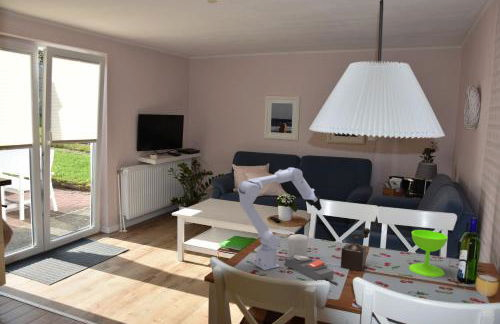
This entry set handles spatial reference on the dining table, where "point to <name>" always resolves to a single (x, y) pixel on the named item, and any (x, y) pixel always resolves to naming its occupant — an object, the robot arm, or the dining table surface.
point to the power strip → (310, 269)
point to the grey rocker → (301, 257)
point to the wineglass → (428, 251)
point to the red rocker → (316, 264)
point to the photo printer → (297, 245)
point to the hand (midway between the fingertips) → (316, 206)
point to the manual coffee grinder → (354, 254)
